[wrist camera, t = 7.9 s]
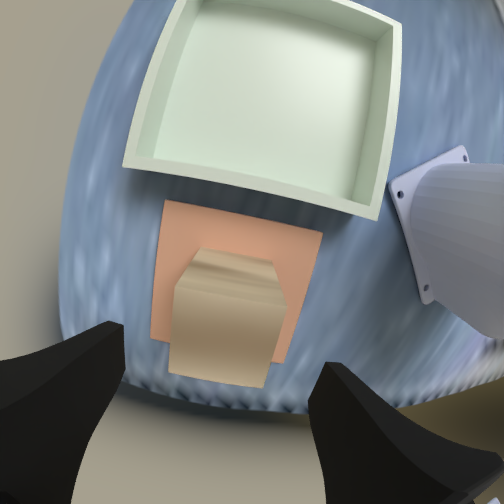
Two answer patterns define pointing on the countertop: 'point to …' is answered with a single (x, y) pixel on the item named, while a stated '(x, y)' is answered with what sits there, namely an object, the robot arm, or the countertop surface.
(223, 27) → the pale green bin
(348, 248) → the countertop surface
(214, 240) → the terracotta tile
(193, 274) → the birch block
